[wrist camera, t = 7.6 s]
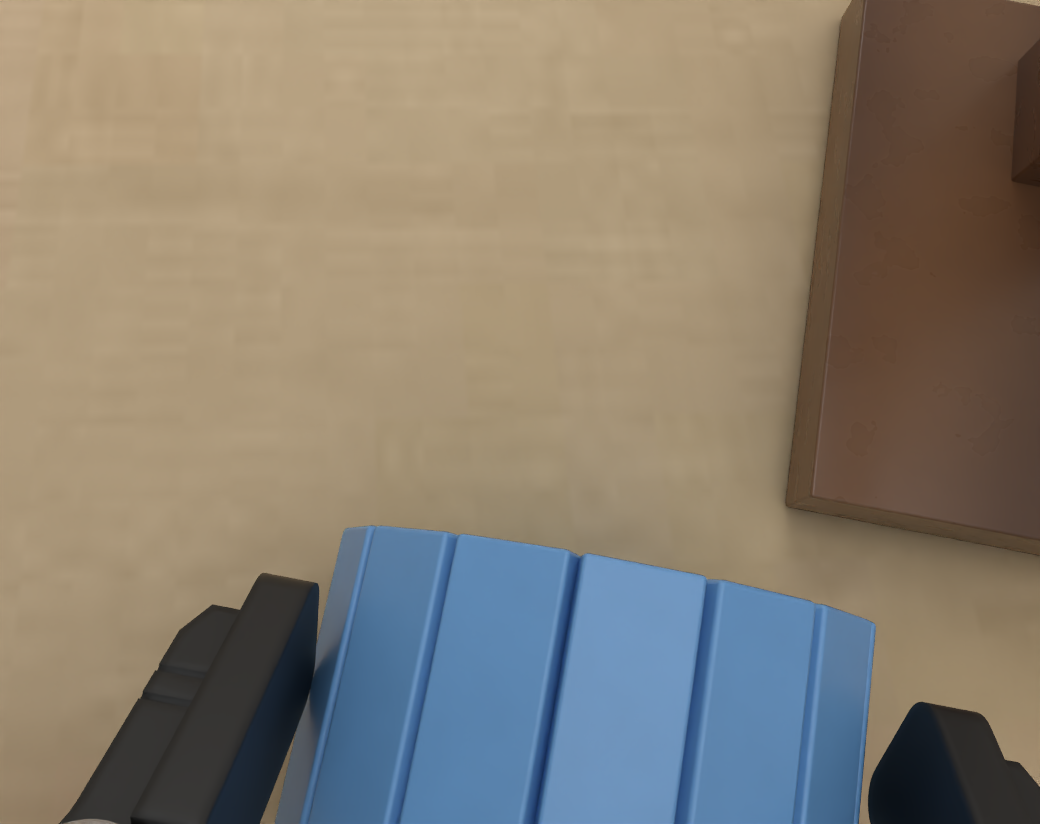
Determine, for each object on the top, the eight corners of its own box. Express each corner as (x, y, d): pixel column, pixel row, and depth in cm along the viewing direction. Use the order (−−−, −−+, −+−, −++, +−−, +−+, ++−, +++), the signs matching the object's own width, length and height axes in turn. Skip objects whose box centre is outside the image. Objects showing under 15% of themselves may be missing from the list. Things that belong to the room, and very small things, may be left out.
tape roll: (320, 815, 17) (175, 983, 9) (379, 552, 18) (297, 496, 10) (740, 897, 17) (969, 1140, 9) (771, 628, 18) (996, 631, 10)
